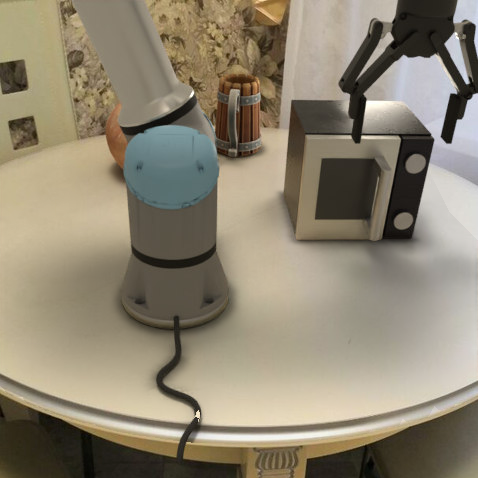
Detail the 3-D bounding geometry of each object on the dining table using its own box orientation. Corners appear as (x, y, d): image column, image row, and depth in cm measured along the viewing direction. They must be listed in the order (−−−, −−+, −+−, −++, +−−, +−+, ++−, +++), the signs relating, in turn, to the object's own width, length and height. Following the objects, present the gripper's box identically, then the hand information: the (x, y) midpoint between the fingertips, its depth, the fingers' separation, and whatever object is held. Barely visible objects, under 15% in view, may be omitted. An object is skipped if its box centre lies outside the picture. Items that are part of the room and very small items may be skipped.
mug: (217, 137, 141) (218, 69, 132) (263, 141, 140) (267, 73, 131) (204, 164, 128) (205, 91, 119) (255, 169, 127) (259, 96, 118)
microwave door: (389, 255, 101) (411, 152, 90) (301, 256, 100) (312, 152, 89) (379, 234, 106) (398, 135, 96) (295, 235, 105) (305, 134, 95)
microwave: (413, 241, 105) (436, 139, 94) (297, 242, 104) (307, 138, 93) (385, 193, 120) (403, 101, 109) (283, 193, 118) (291, 99, 108)
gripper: (513, -23, 83) (473, 131, 95) (329, -27, 81) (313, 130, 93) (538, -13, 77) (493, 150, 89) (340, -17, 75) (322, 150, 87)
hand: (400, 140), depth 91 cm, fingers open, 13 cm apart
